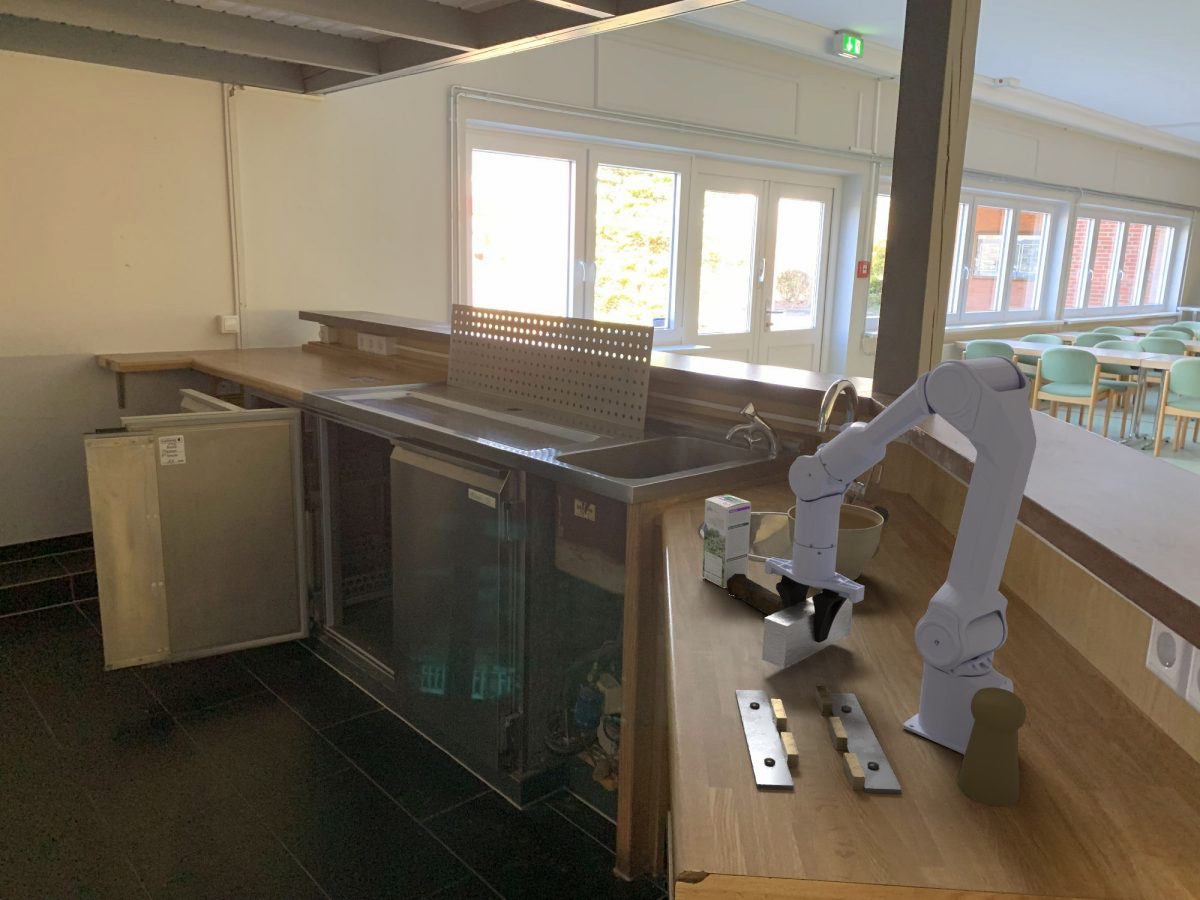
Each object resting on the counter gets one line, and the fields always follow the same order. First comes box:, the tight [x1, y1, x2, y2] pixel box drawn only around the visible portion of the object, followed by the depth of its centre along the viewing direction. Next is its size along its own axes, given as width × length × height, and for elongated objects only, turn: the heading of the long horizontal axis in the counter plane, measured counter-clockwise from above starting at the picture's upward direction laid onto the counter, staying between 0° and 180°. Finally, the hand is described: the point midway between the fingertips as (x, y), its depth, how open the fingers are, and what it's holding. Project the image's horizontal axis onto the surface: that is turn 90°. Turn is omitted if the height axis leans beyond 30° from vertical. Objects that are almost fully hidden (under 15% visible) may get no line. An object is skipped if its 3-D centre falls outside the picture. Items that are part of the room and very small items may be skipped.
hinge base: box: [735, 685, 903, 795], centre depth 100 cm, size 15×20×2 cm
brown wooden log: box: [726, 573, 785, 616], centre depth 133 cm, size 19×4×5 cm, turn 25°
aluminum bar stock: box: [761, 596, 854, 670], centre depth 119 cm, size 4×16×6 cm, turn 133°
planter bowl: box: [786, 503, 885, 582], centre depth 151 cm, size 16×16×11 cm
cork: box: [956, 687, 1027, 807], centre depth 90 cm, size 6×6×11 cm
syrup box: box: [701, 494, 752, 588], centre depth 146 cm, size 6×6×14 cm
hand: (808, 635), depth 119 cm, fingers closed on aluminum bar stock, 3 cm apart
